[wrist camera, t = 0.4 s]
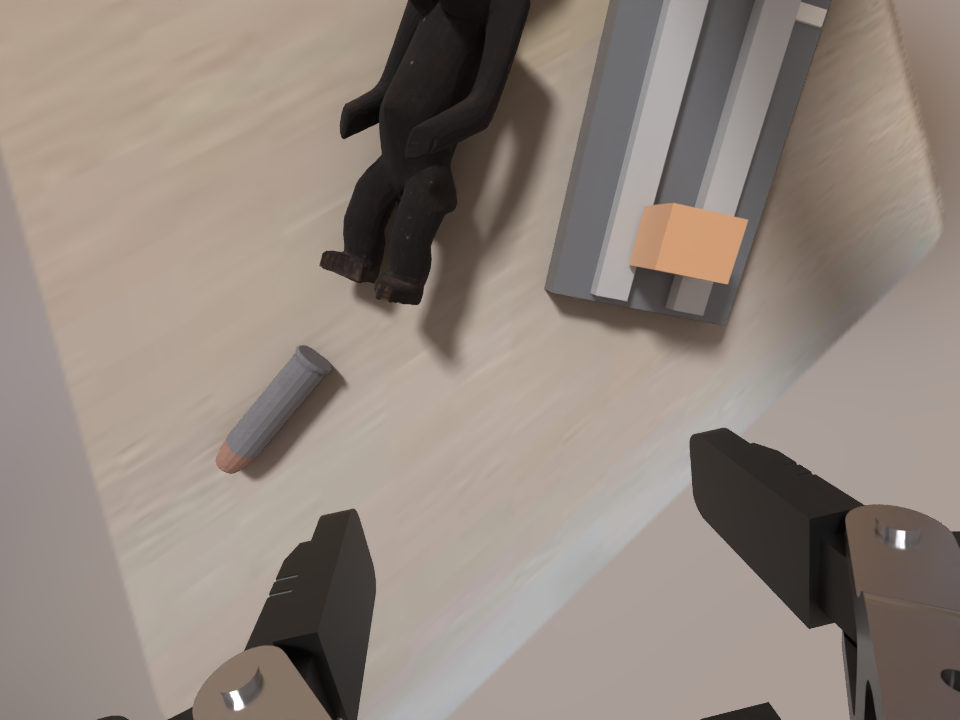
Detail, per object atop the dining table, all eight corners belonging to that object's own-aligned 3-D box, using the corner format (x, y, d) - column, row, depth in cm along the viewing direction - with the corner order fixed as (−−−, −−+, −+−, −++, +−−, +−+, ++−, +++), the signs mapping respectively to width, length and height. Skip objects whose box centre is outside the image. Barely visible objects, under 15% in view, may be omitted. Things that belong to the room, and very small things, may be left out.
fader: (637, 206, 34) (673, 202, 29) (702, 221, 34) (748, 219, 29) (622, 263, 35) (654, 269, 30) (685, 276, 35) (727, 284, 30)
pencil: (303, 340, 37) (293, 350, 34) (335, 364, 38) (328, 376, 35) (217, 445, 38) (200, 463, 35) (250, 466, 39) (236, 485, 36)
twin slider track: (634, -108, 31) (660, -151, 28) (822, -46, 33) (869, -79, 30) (544, 288, 37) (556, 295, 34) (707, 319, 39) (735, 328, 36)
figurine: (317, 257, 35) (284, 267, 28) (469, -214, 29) (483, -380, 21) (420, 298, 37) (418, 318, 29) (587, -141, 31) (642, -269, 23)
